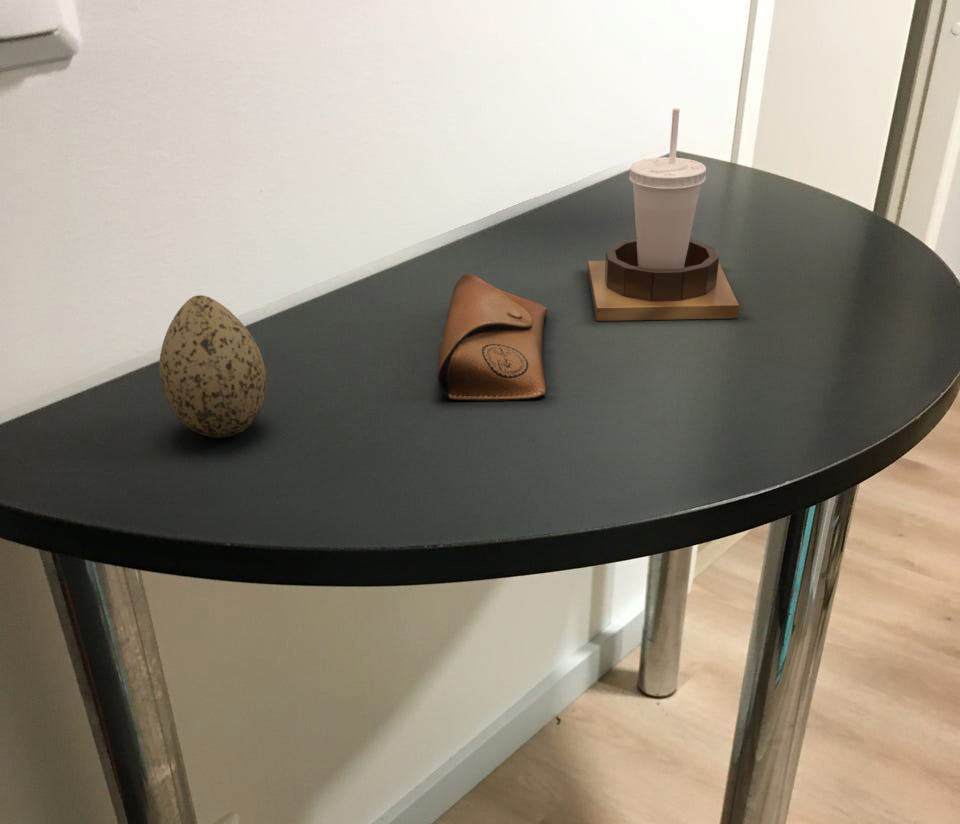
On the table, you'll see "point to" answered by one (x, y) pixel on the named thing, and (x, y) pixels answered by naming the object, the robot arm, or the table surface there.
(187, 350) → the decorative egg
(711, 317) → the dock pad
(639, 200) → the smoothie
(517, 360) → the sunglasses case
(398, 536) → the table surface
